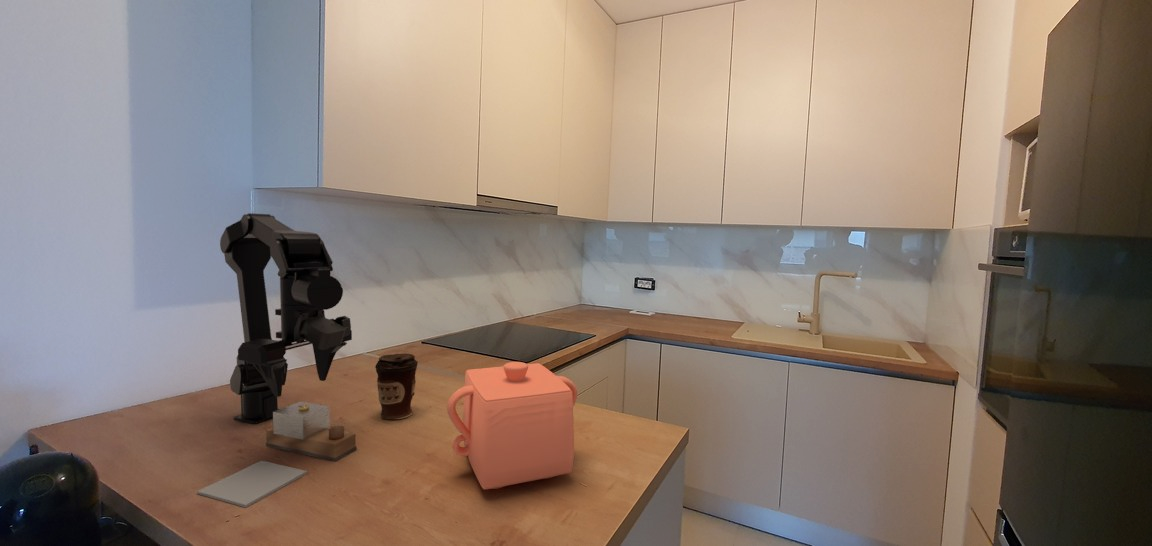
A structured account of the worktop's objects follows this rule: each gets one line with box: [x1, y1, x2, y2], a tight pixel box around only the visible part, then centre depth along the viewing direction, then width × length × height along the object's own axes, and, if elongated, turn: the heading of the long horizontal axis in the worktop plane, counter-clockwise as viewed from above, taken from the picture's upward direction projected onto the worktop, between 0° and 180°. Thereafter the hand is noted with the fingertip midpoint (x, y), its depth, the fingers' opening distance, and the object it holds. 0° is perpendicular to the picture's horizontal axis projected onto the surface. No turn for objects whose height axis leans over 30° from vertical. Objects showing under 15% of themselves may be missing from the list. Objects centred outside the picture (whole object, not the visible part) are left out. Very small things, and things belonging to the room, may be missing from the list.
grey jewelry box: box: [272, 401, 331, 440], centre depth 83 cm, size 7×6×5 cm
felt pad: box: [196, 460, 308, 508], centre depth 71 cm, size 10×10×1 cm
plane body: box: [265, 425, 358, 462], centre depth 83 cm, size 16×5×5 cm, turn 72°
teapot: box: [446, 361, 578, 491], centre depth 81 cm, size 25×23×18 cm
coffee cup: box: [374, 353, 419, 420], centre depth 99 cm, size 9×8×13 cm
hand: (301, 387), depth 83 cm, fingers open, 9 cm apart
